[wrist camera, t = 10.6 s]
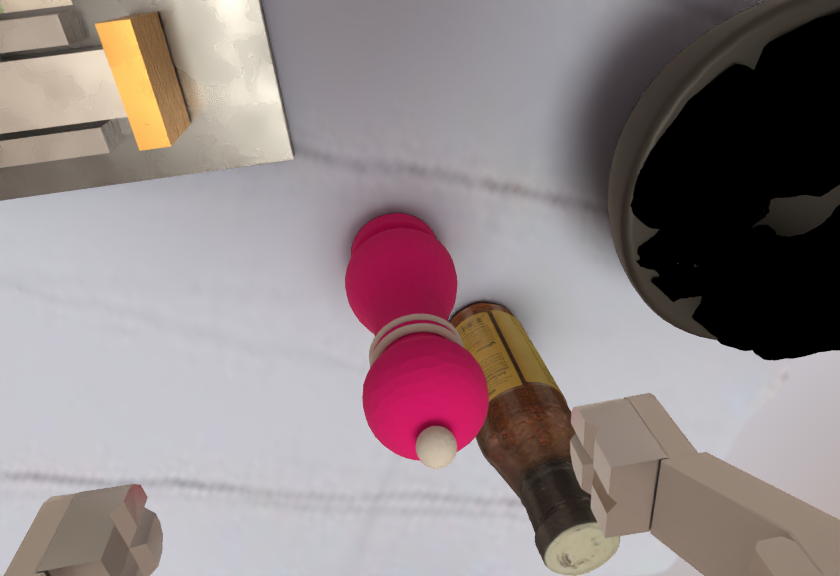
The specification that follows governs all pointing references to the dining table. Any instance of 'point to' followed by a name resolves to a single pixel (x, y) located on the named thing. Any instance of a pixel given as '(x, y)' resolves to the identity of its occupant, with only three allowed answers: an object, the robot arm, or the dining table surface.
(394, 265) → the pepper mill
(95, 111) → the plunger
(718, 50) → the coal bowl
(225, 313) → the dining table surface
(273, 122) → the bench
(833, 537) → the robot arm
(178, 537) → the dining table surface
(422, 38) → the dining table surface
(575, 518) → the sauce bottle
